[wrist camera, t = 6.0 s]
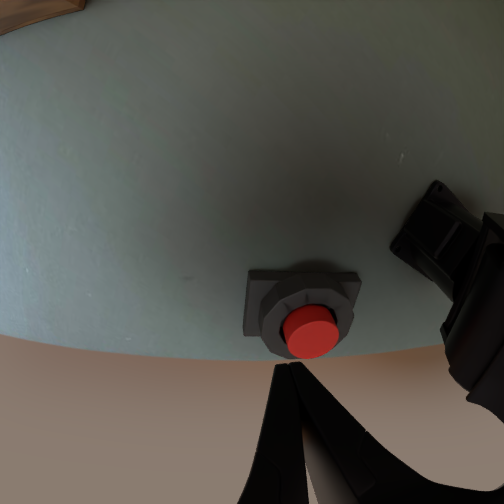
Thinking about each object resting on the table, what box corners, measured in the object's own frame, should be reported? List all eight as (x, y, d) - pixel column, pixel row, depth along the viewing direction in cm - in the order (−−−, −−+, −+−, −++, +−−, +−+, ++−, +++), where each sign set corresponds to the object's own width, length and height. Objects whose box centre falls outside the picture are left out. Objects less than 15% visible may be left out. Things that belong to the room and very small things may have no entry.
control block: (358, 265, 21) (375, 288, 19) (337, 330, 24) (349, 355, 22) (249, 261, 20) (253, 287, 18) (241, 332, 23) (245, 360, 20)
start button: (336, 303, 19) (345, 320, 18) (324, 340, 21) (331, 357, 19) (287, 303, 19) (292, 321, 17) (279, 342, 20) (283, 360, 19)
